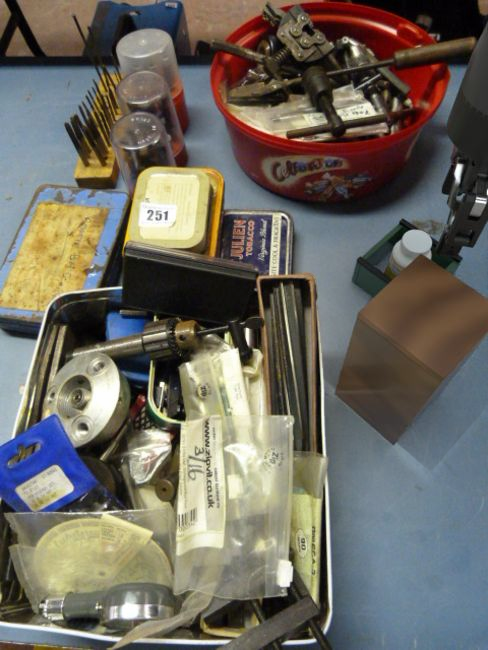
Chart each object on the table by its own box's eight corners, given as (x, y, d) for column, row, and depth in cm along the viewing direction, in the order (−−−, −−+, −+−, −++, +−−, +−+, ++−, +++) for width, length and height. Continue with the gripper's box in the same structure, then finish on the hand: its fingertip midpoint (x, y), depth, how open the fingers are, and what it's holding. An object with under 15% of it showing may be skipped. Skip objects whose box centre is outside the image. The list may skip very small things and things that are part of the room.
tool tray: (451, 280, 77) (463, 257, 72) (407, 323, 73) (417, 303, 69) (394, 241, 81) (402, 217, 76) (351, 281, 77) (356, 259, 73)
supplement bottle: (383, 294, 76) (397, 255, 68) (382, 265, 79) (395, 224, 70) (420, 296, 76) (439, 257, 67) (417, 266, 78) (435, 226, 70)
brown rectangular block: (440, 394, 68) (506, 310, 49) (393, 446, 65) (444, 378, 46) (381, 347, 72) (420, 252, 53) (334, 394, 69) (358, 312, 50)
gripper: (566, 156, 36) (482, 282, 50) (559, 38, 43) (486, 179, 57) (457, 141, 37) (405, 269, 52) (467, 29, 44) (418, 169, 58)
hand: (448, 222), depth 54 cm, fingers open, 8 cm apart
